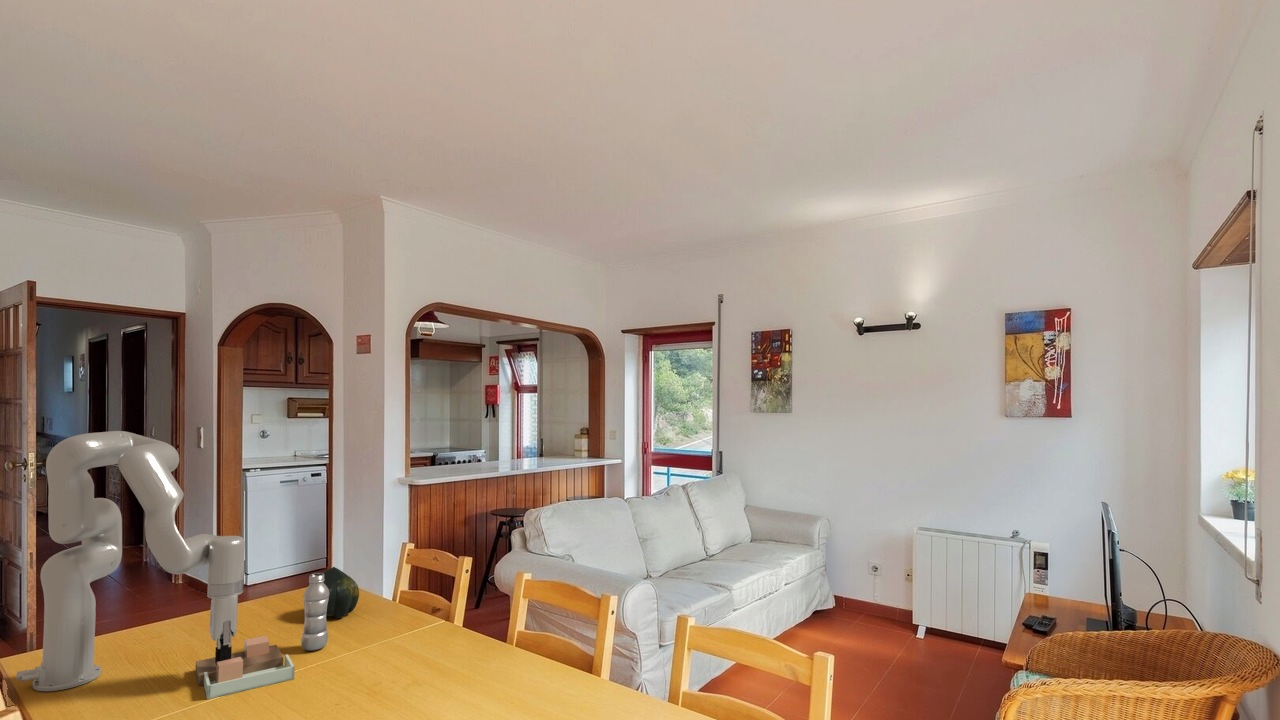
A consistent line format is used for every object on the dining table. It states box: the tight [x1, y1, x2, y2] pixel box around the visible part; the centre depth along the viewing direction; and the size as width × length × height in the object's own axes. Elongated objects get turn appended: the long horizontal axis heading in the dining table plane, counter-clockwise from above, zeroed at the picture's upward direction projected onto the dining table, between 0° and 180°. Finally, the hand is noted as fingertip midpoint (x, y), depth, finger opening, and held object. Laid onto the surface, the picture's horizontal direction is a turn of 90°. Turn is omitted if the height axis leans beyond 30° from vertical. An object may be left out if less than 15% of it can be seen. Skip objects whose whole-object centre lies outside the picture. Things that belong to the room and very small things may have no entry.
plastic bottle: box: [300, 572, 329, 652], centre depth 181 cm, size 6×7×20 cm
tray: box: [203, 653, 296, 700], centre depth 161 cm, size 18×9×3 cm, turn 128°
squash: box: [323, 566, 360, 619], centre depth 207 cm, size 14×15×15 cm
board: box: [195, 644, 284, 687], centre depth 167 cm, size 18×10×2 cm, turn 128°
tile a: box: [216, 657, 243, 683], centre depth 159 cm, size 5×5×3 cm
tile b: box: [243, 635, 270, 658], centre depth 172 cm, size 5×5×3 cm
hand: (223, 663), depth 162 cm, fingers closed
